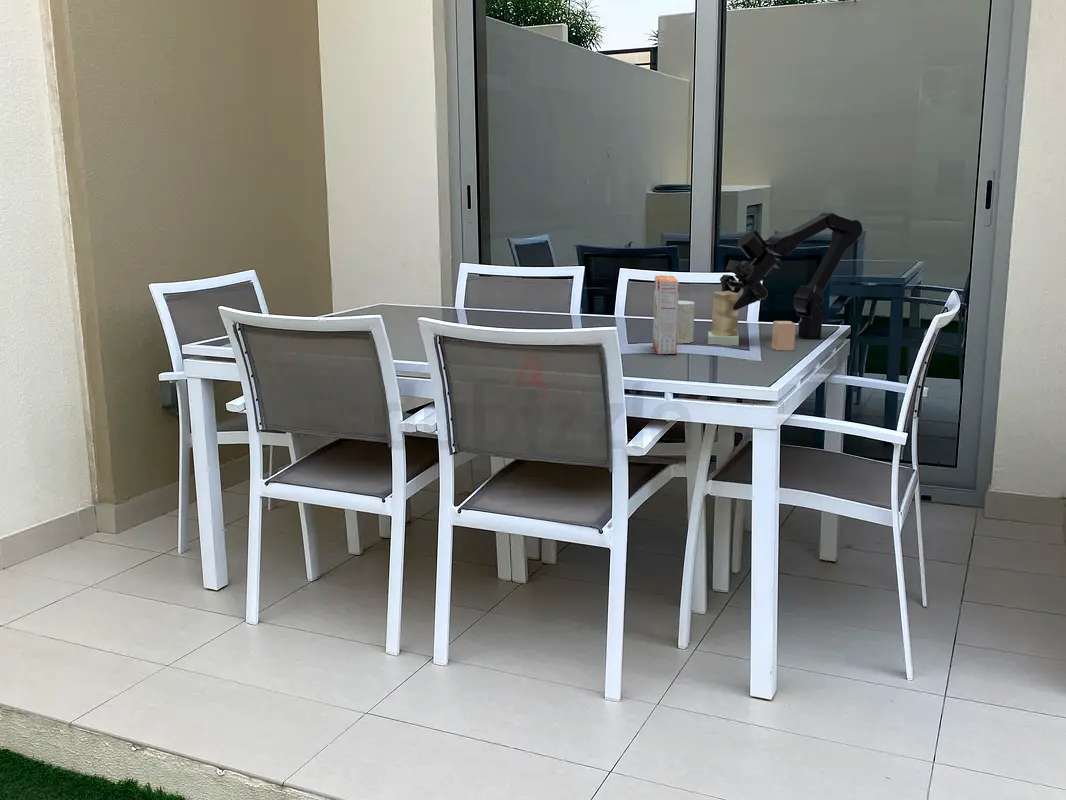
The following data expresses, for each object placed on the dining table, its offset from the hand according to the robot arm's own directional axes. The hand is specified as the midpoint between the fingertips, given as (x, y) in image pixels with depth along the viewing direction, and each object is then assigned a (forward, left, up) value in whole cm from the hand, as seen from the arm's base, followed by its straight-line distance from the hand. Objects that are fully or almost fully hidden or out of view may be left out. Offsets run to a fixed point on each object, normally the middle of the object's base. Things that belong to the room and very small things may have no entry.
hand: (725, 307), depth 309 cm
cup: (+13, +2, -11) cm, 17 cm away
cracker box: (+17, +18, -11) cm, 27 cm away
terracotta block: (-17, +8, -11) cm, 22 cm away
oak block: (0, 0, -8) cm, 8 cm away
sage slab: (0, 0, -11) cm, 11 cm away
